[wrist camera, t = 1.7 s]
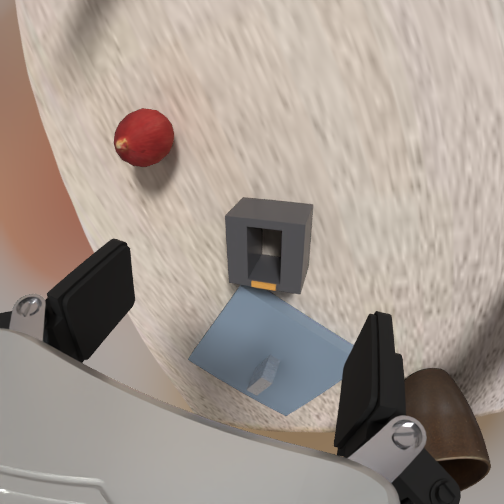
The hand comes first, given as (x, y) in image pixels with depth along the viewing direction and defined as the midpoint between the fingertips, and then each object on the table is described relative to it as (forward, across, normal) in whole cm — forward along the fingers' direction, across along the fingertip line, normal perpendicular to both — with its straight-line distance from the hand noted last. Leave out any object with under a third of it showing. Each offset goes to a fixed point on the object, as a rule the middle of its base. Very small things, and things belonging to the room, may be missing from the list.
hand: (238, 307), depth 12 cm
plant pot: (+21, -24, +24) cm, 40 cm away
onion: (+22, +15, -1) cm, 27 cm away
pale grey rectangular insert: (+19, -1, +26) cm, 32 cm away
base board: (+21, -1, +26) cm, 33 cm away
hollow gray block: (+21, +2, +8) cm, 23 cm away
